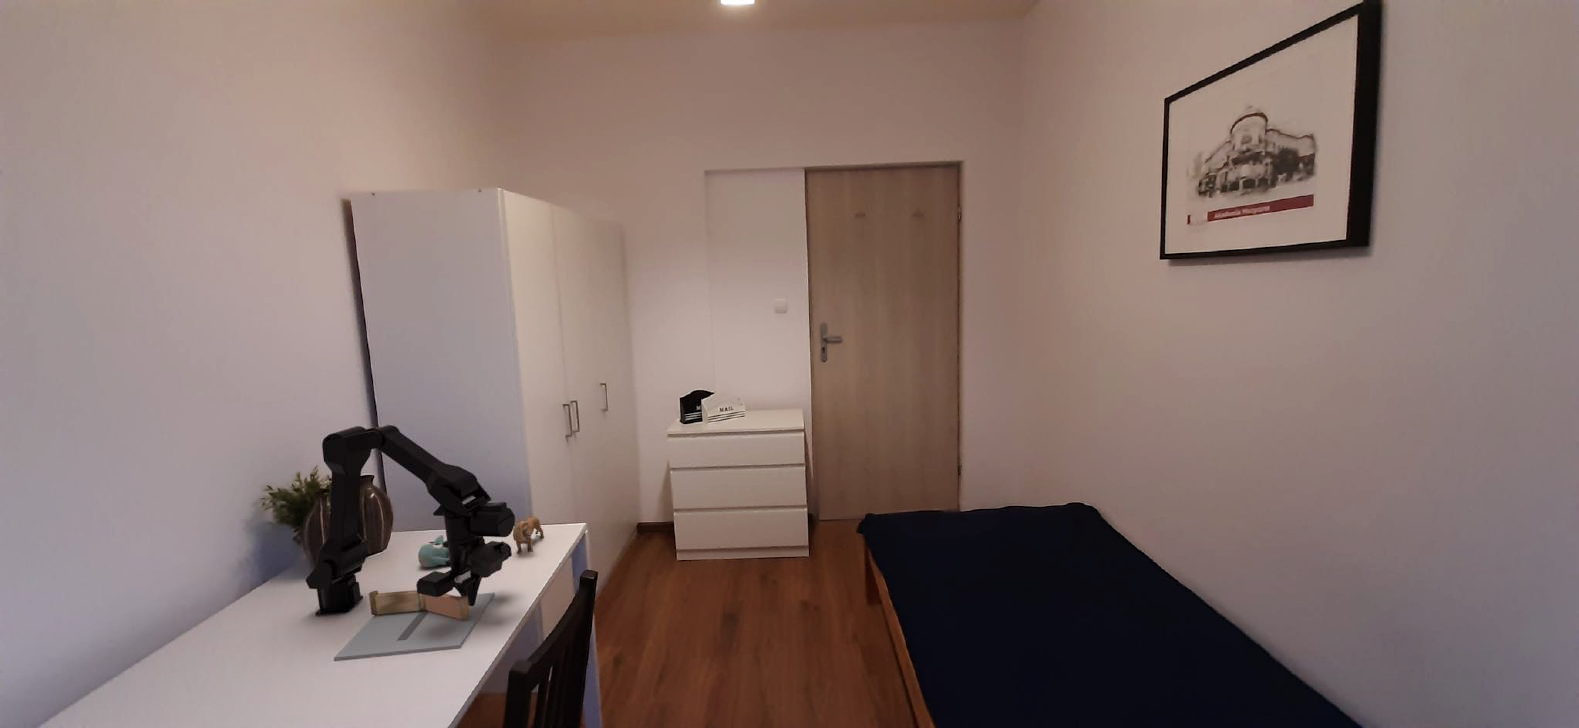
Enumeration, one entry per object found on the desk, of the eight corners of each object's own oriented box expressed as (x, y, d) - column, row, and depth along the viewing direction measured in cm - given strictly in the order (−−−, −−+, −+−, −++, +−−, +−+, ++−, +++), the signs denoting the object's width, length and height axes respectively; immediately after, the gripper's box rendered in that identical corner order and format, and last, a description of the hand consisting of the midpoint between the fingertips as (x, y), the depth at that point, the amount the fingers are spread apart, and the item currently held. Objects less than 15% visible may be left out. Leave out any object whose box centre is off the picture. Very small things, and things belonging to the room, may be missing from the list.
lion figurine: (534, 558, 157) (531, 523, 156) (511, 560, 156) (508, 525, 155) (546, 534, 171) (543, 502, 170) (525, 536, 170) (522, 504, 169)
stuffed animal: (481, 534, 159) (433, 543, 149) (478, 562, 159) (431, 574, 149) (456, 526, 165) (408, 535, 154) (453, 554, 165) (406, 564, 154)
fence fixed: (370, 615, 130) (367, 595, 130) (374, 611, 132) (371, 591, 131) (419, 610, 132) (416, 590, 131) (422, 606, 133) (420, 586, 132)
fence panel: (420, 609, 132) (418, 589, 131) (427, 605, 133) (425, 585, 133) (465, 621, 127) (462, 600, 126) (471, 617, 129) (469, 596, 128)
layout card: (334, 660, 117) (333, 657, 117) (387, 604, 136) (387, 601, 136) (460, 647, 119) (459, 644, 119) (494, 595, 139) (494, 592, 139)
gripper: (452, 560, 117) (462, 638, 119) (527, 521, 134) (535, 589, 137) (409, 552, 121) (420, 627, 124) (487, 515, 138) (495, 582, 141)
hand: (471, 605), depth 131 cm, fingers closed
